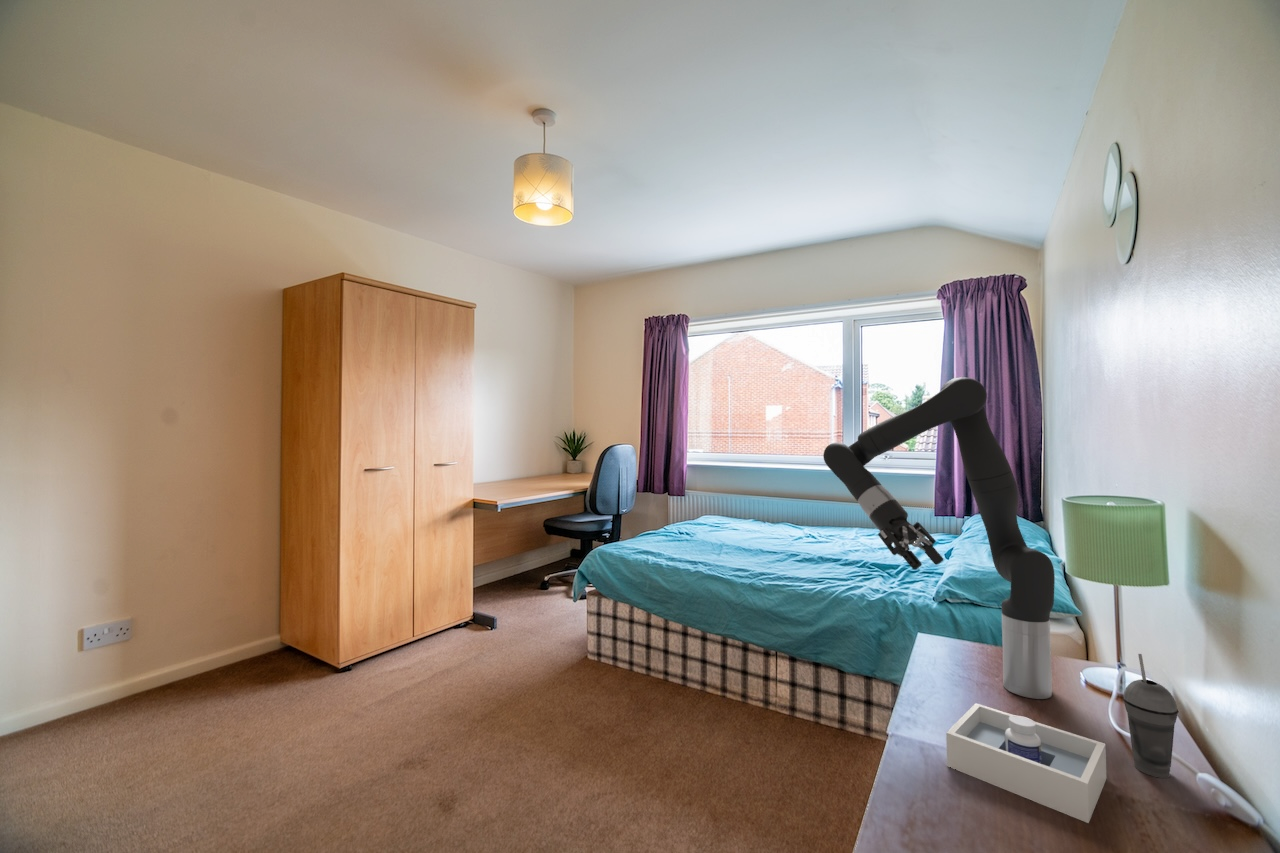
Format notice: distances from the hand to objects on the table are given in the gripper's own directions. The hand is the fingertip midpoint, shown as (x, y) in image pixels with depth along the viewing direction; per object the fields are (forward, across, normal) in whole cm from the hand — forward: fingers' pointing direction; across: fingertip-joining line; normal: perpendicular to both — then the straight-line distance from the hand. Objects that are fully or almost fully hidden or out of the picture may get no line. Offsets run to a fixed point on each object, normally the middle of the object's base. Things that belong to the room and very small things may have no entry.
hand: (929, 564), depth 123 cm
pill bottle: (+38, -11, +6) cm, 40 cm away
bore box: (+38, -11, +6) cm, 40 cm away
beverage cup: (+46, +8, -3) cm, 47 cm away
